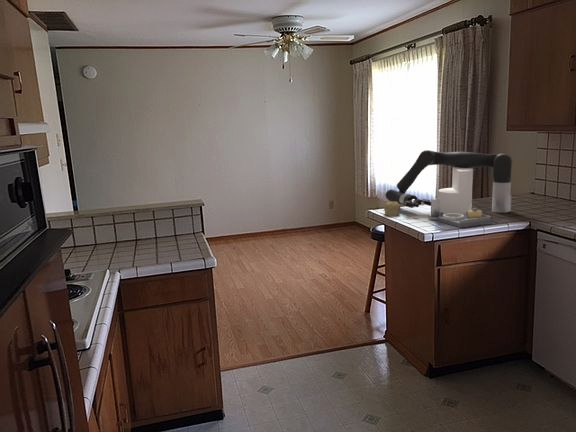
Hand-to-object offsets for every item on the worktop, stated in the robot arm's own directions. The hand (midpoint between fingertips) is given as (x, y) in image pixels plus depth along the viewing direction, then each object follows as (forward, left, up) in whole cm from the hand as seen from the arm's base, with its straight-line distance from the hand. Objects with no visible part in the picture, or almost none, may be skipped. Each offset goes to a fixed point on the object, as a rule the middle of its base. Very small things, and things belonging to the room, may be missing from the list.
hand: (424, 204), depth 267 cm
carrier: (-9, +22, -7) cm, 25 cm away
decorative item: (+12, -15, -7) cm, 20 cm away
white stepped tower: (-23, -3, -7) cm, 24 cm away
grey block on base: (0, +9, -7) cm, 12 cm away
